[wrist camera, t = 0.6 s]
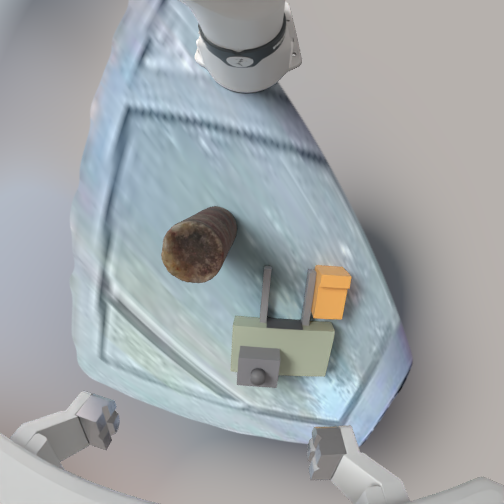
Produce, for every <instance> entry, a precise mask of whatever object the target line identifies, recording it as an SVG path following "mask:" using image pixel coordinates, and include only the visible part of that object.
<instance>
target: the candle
mask: <svg viewBox="0 0 504 504" xmlns="http://www.w3.org/2000/svg"><path fill="white" fill-rule="evenodd" d="M236 233H237V225H236V221H235V219H234V217H233V216H232V214H231V213H230V212H229V211H228V210H226V209H224V208H221V207H217V206H214V207H209V208H207V209H204V210H202V211H201V212H199V213H197V214H195V215H193V216H191V217H189V218H187V219H185V220H183V221H181V222H179V223H177V224H175V225H174V226H173V227H171V229H170V230H169V231H168V232H167V233H166V235H165V237H164V240H163V248H162V254H161V256H162V261H163V263H164V265H165V267H166V268H167V270H168V272H169V273H171V274H172V275H173V276H175V277H177V278H178V279H180V280H182V281H185V282H192V283H203V282H206V281H209V280H211V279H212V278H213V277H214V276H216V274H217V273H218V272H219V270H220V269H221V267H222V265H223V263H224V261H225V258H226V256H227V254H228V252H229V250H230V248H231V246H232V244H233V242H234V239H235V237H236Z"/></svg>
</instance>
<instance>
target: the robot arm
mask: <svg viewBox="0 0 504 504" xmlns="http://www.w3.org/2000/svg"><path fill="white" fill-rule="evenodd" d="M179 1H180V2H182V3H183V4H185V5H186V6H187V7H189V9H190V10H191V11H192V13H193V14H194V16H195V17H196V19H197V21H198V27H199V34H200V37H199V39H198V40H197V42H196V43H197V47H198V48H197V51H196V54H195V61H196V62H197V63H198V64H199V65H201V66H203V67H205V68H206V69H207V70H208V71H209V73H210V74H211V76H212V77H213V78H214V80H215V81H216V82H217V83H219V84H220V85H221V86H223V87H225V88H227V89H229V90H232V91H236V92H243V93H250V92H257V91H261V90H264V89H267V88H269V87H271V86H272V85H274V84H275V83H277V82H278V81H279V80H280V79H281V78H282V77H283V76H284V75H285V74H286V73H287V72H288V71H290V70H293V69H295V68H297V67H299V66H300V65H301V63H302V59H301V54H300V49H299V44H298V39H297V35H296V31H295V26H294V22H293V18H292V14H291V10H290V6H289V4H288V3H287V2H285V0H179ZM292 54H295V55H296V56H292ZM115 409H116V404H115V401H113V400H111V399H107V398H105V397H101V396H98V395H95V394H92V393H89V392H86V391H82V392H81V393H80V394H79V395H78V396H77V398H76V399H75V400H74V401H73V403H72V404H71V405H70V406H69V407H68V409H67V410H66V411H63V410H62V411H60V412H57V413H54V414H51V415H48V416H45V417H42V418H39V419H36V420H32V421H30V422H26V423H23V424H22V425H21V426H20V427H19V428H18V429H17V430H16V432H15V433H14V434H13V435H12V436H11V437H10V438H7V437H6V436H4V435H3V434H1V433H0V504H159V503H155V502H151V501H147V500H144V499H140V498H137V497H133V496H130V495H127V494H124V493H121V492H118V491H115V490H112V489H109V488H106V487H104V486H101V485H99V484H96V483H93V482H91V481H89V480H86V479H84V478H81V477H79V476H77V475H75V474H72V473H70V472H68V471H66V470H64V468H63V466H62V465H61V463H60V462H61V461H63V460H65V459H66V458H68V457H70V456H72V455H73V454H75V453H77V452H79V451H81V450H82V449H84V448H86V447H88V446H89V445H92V446H95V447H98V448H101V449H104V450H107V448H108V446H109V445H110V443H111V441H112V439H111V435H113V434H115V433H116V432H117V430H118V427H119V423H120V420H119V415H118V413H117V412H116V411H115ZM307 457H308V461H309V462H310V463H311V464H310V466H309V473H310V480H331V481H332V482H333V483H334V485H335V486H336V487H337V488H338V489H339V490H340V491H341V492H342V493H343V494H344V495H345V496H346V497H347V498H348V499H349V500H350V501H351V502H352V503H353V504H504V485H502V484H500V483H497V482H495V481H493V480H491V479H487V478H485V477H478V478H476V479H473V480H470V481H468V482H466V483H463V484H461V485H458V486H456V487H453V488H451V489H448V490H445V491H442V492H439V493H436V494H433V495H430V496H427V497H424V498H420V499H417V500H413V501H410V500H409V497H408V495H407V492H406V489H405V487H404V484H403V482H402V480H401V479H400V478H398V477H397V476H395V475H393V474H392V473H391V472H390V471H388V470H387V469H385V468H384V467H382V466H381V465H380V464H378V463H377V462H375V461H374V460H373V459H371V458H370V457H369V456H367V455H366V454H365V453H360V451H359V448H358V444H357V441H356V438H355V435H354V432H353V429H352V427H351V426H350V425H348V426H329V427H314V428H313V431H312V438H311V439H310V440H309V443H308V449H307Z"/></svg>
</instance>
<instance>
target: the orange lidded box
mask: <svg viewBox="0 0 504 504" xmlns="http://www.w3.org/2000/svg"><path fill="white" fill-rule="evenodd" d="M315 271H316V281H315V288H314V295H313V302H312V308H311V312H312V315H313V318H320V319H342V316H343V311H344V306H345V300H346V295H347V289H348V288H349V289H350V283H351V276H350V275H349V273H348V272H347V271H346V270H345V269H344V268H343V267H335V266H322V265H316V266H315Z"/></svg>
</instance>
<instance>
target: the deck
mask: <svg viewBox="0 0 504 504" xmlns="http://www.w3.org/2000/svg"><path fill="white" fill-rule="evenodd" d="M270 280H271V266H264V276H263V287H262V299H261V310H260V318H256V317H244V316H235V319H234V323H233V334H232V354H231V371H233V372H238V373H237V385H245V386H257V387H272V388H276V387H277V381H278V375H288V376H325V374H326V370H327V366H328V362H329V357H330V353H331V348H332V344H333V339H334V334H335V330H334V328H333V326H332V324H331V322H320V321H310V315H311V308H312V302H313V295H314V288H315V281H316V271H315V270H313V269H308V274H307V281H306V289H305V296H304V304H303V311H302V317H301V320H292V319H276V318H267V311H268V301H269V290H270Z"/></svg>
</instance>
